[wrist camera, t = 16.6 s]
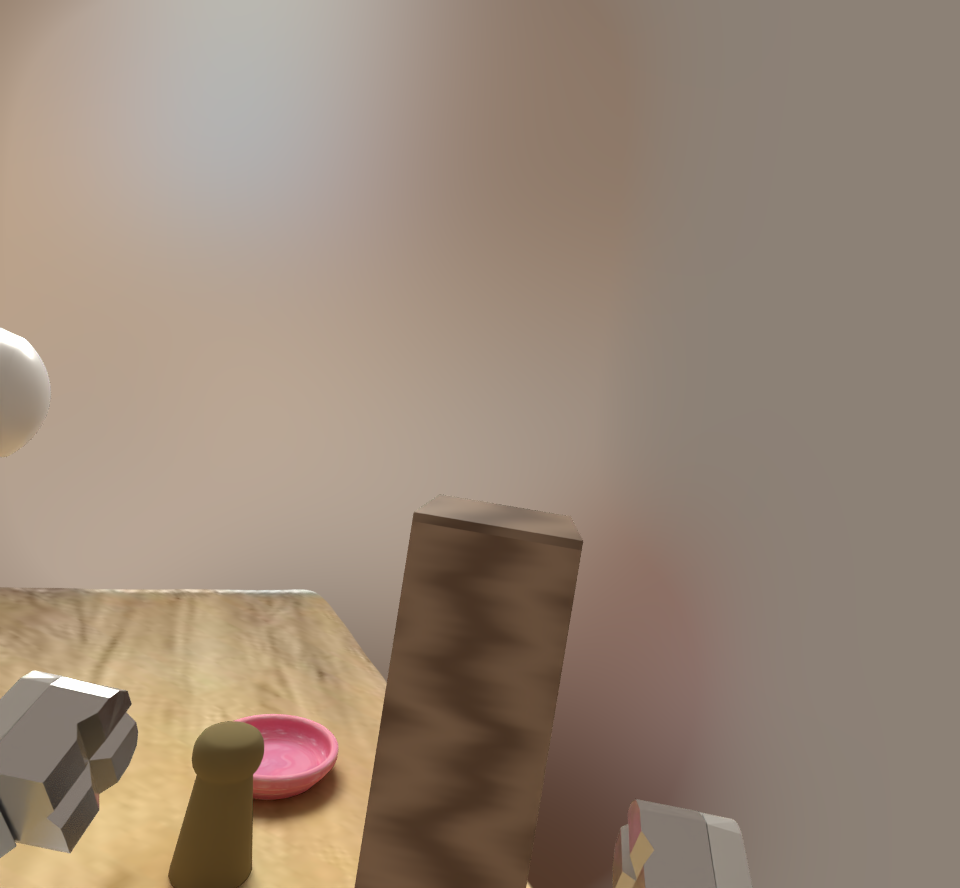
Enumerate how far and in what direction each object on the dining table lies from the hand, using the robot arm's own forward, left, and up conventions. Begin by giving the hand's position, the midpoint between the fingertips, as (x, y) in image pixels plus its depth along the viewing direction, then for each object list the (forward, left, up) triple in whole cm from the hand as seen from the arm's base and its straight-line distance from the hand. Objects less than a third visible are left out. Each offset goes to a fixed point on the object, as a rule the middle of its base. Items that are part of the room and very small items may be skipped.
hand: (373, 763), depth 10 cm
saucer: (-18, +52, -32) cm, 63 cm away
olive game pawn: (-17, +38, -32) cm, 52 cm away
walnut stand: (+1, +29, -31) cm, 43 cm away
